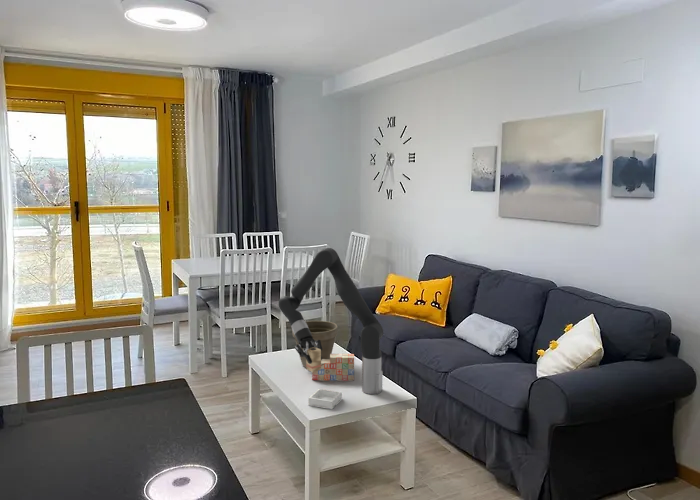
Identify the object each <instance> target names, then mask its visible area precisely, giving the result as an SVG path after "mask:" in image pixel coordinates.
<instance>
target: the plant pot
mask: <svg viewBox="0 0 700 500" xmlns="http://www.w3.org/2000/svg"><path fill="white" fill-rule="evenodd" d="M305 322H306V324H307V326H308V328H309V330H310V332H311V334H312V337H313V339H314V340H315V341H318V340H320V341H321V346H322V351H321V356H322V359H330V354H333V349H334V345H335V341H336V337H337V336H338V327H339V326H338V325H337V324H336V323H334V322H331V321H327V320H307V321H305ZM291 330H292V329H291ZM291 332H292V337H293V338H294V339H295V346H296V345H297V344H298V345H299V343H298V341H297V339H296V337H295V335H294V332H293V330H292V331H291ZM315 345H316V344H315ZM316 346H317V345H316ZM301 349H302V350H303V348H301ZM299 360H300V361H301V365H302V366H303V367H305V368H306V358H305V357H301V356H300V355H299Z"/></svg>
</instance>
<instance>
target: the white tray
mask: <svg viewBox="0 0 700 500" xmlns="http://www.w3.org/2000/svg"><path fill="white" fill-rule="evenodd" d="M342 400H343V392H342V391H335V390H329V389H323V388H318V389H317V390H315V392H314V393H312V394H311V395H310V396H309V397H308V400H307V401H308V403H307V404H308V406H311V407H317V408H322V409H329V410H333V409H334V408H335V407H336V406H337V405H338V404H339V403H340V402H341V401H342Z"/></svg>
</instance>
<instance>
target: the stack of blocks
mask: <svg viewBox="0 0 700 500" xmlns="http://www.w3.org/2000/svg"><path fill="white" fill-rule="evenodd" d="M311 373H312V374H311V380H312V381H349V382H350V381H355V354H354V353H332V354H330V359H322V360H321V370H318V371H315V372H311Z"/></svg>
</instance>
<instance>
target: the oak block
mask: <svg viewBox="0 0 700 500" xmlns="http://www.w3.org/2000/svg"><path fill="white" fill-rule="evenodd" d="M307 351H308V353H309V356H310V358H311V360H312V363H311V364H309V363H308V362H307V360H306V367H305V368H306V369H305V370H307V371H310V372H311V373H312V372H315V371H318V370H321V349H319V348H314V347H313V348H309V349H308V350H307Z"/></svg>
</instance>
